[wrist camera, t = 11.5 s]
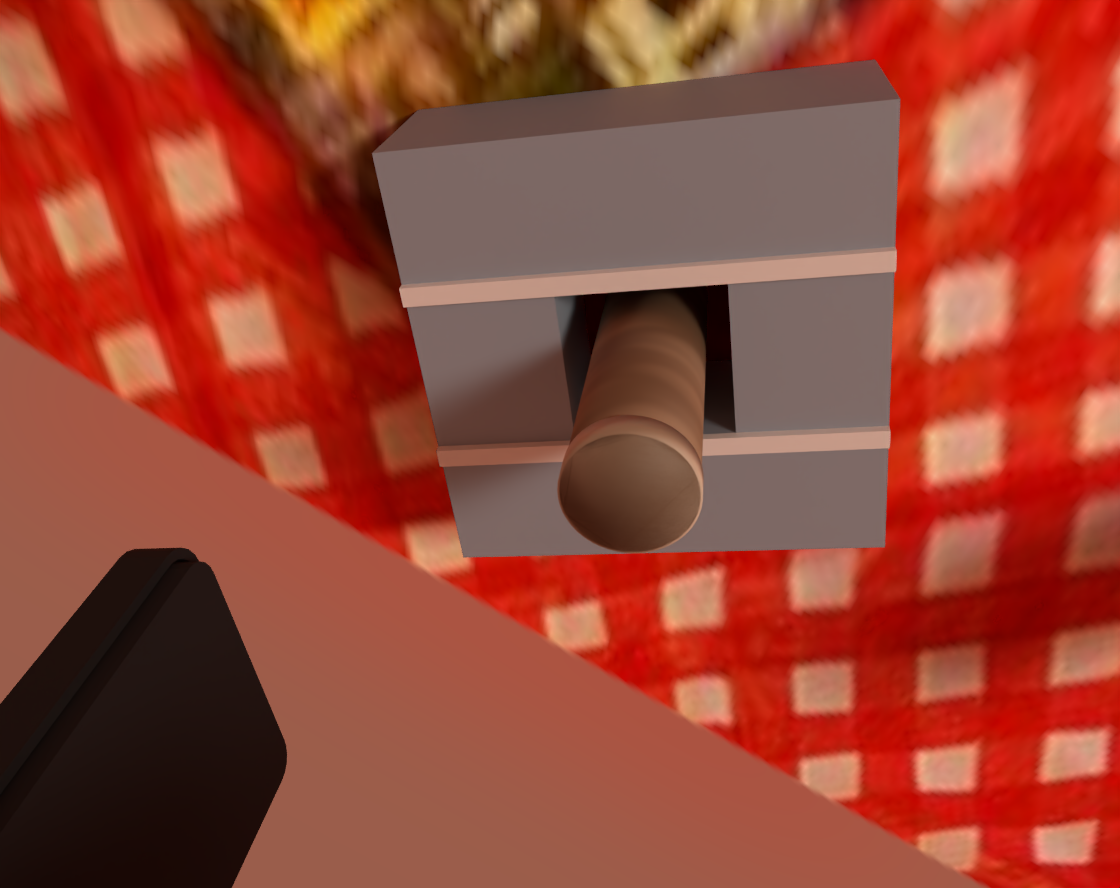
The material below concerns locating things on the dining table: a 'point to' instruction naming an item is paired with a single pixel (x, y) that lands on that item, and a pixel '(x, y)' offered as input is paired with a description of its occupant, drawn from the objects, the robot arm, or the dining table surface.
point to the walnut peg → (640, 423)
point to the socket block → (658, 263)
